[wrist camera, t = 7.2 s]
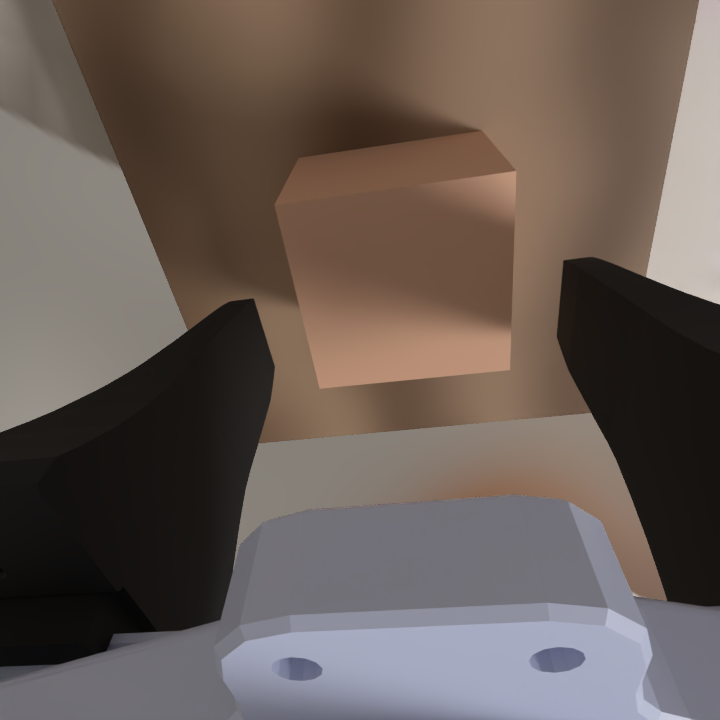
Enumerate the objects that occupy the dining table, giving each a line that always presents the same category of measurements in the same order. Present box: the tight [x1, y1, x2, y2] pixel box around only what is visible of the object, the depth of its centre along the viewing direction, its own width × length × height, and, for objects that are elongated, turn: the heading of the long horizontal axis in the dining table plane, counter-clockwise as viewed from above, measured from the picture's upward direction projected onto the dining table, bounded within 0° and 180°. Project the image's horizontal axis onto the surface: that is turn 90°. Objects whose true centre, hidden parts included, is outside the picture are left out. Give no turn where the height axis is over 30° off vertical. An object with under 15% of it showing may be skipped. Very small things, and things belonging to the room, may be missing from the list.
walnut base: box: [52, 0, 699, 443], centre depth 16 cm, size 15×15×2 cm
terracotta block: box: [274, 131, 516, 389], centre depth 13 cm, size 5×5×4 cm
